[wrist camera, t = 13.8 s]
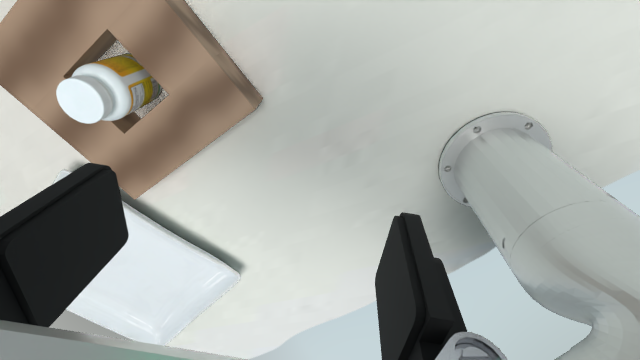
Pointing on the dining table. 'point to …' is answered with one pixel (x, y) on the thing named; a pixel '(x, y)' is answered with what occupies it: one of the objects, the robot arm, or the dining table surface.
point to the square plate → (152, 283)
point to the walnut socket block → (152, 53)
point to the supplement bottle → (107, 89)
